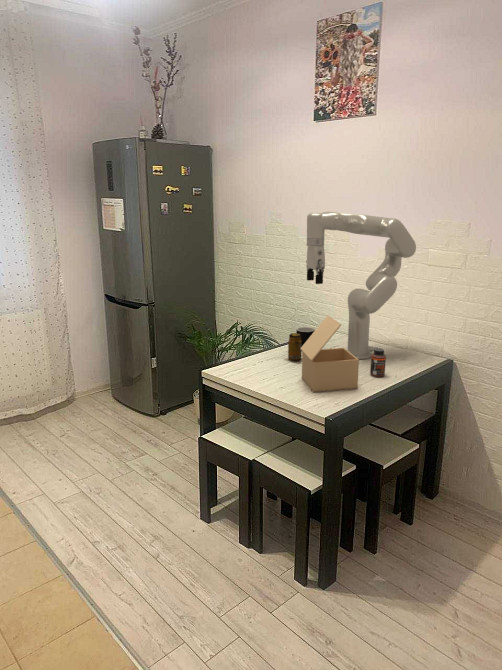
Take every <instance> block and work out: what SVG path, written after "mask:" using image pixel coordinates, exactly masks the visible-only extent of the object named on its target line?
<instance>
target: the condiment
mask: <svg viewBox="0 0 502 670" xmlns="http://www.w3.org/2000/svg"><path fill="white" fill-rule="evenodd" d="M288 338H289V339H288V345H287V357H286V358H284V360H286V361H289V362H292V363H295V364H299V363H302V351H301V349H300V348H301V346H302V341H301V335H300V334H298V333H296V332H291V333H290V334H289V336H288Z"/></svg>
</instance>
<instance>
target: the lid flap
mask: <svg viewBox="0 0 502 670" xmlns="http://www.w3.org/2000/svg"><path fill="white" fill-rule="evenodd" d="M340 327H342V323H340V322H338V321H337V320H336V319H334V318H333V317H332V316H330V315H329V314H328V315H327V316H326V317H325V318H323V320H322V321H321V323H320V324H319V325H318V326H317V327H316V328H315V331H314V332H313V334H312V335H311V336H310V337H309V339H308V340H307V341H306V342H305V343H304V345H303V346H302V347H301V348H300V349H301V350H302V351H303V352H304V353H305V354H306V355H307V356H308V357H309V358H310V359H311V360H313V359H314V358H315V357H316V355H317V354H318V353H319V352H320V350H321V349H324V348H325V346H326V344H327V343H328V342H329V341H330V340H331V338H332V337H333V336H335V334H336V333H337V331H338V330H339V329H340ZM302 351H301V352H302Z"/></svg>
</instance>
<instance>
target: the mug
mask: <svg viewBox="0 0 502 670" xmlns="http://www.w3.org/2000/svg"><path fill="white" fill-rule="evenodd" d="M315 330H316V328H313V327H309V326H300V327H297V328H296V331H295V333H298V334H300V335H301V341H302V346H303V345H304V343H305V342H306V341H307V340H308V339H309V337H310V336H311V335H312V334H313V332H314V331H315ZM302 346H301V347H302ZM301 352H302V350H301Z"/></svg>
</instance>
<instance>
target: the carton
mask: <svg viewBox="0 0 502 670" xmlns="http://www.w3.org/2000/svg"><path fill="white" fill-rule="evenodd" d="M347 350H348V349H347V348H345V347H339V348H338V347H337V348H322V349H321V350H320V352H319V353H318V354H317V355H316V357H315V358H314V359H313V360H311V359H310V358H309V357H308V356H307V355H306V354H305V353H304V352H303V351H301V358H302V362H301V379H302V381H304V383H305V384H306V385H307V386H308V388H309V389H310V390H311V392H312V393H323V392H335V391H336V392H337V391H349V390H350V391H351V390H359V389H358V385H359V384H358V383H359V365H360V359H357V358H356V357H355V356H354V355H352V354H351V353H350V352H349V351H347Z"/></svg>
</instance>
